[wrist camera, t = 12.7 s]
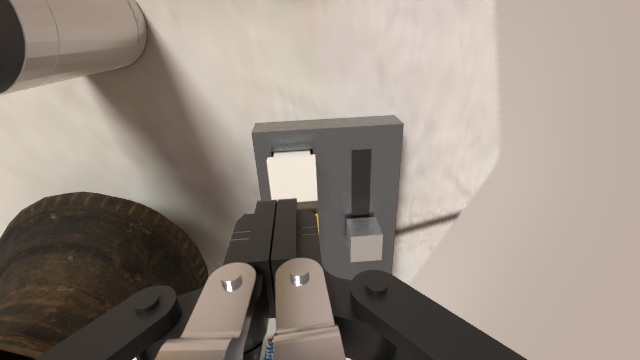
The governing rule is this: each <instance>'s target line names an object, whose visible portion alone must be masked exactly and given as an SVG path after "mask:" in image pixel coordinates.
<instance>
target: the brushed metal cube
mask: <svg viewBox="0 0 640 360" xmlns="http://www.w3.org/2000/svg"><path fill="white" fill-rule="evenodd" d="M346 244H347V248H348V252H349V257H350V261H351V262H361V261H375V260H382V244H383V233H382V231H381V228H380V226H379V224H378V221H377V219H376V217H367V218H353V219H346Z"/></svg>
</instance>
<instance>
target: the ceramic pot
mask: <svg viewBox="0 0 640 360" xmlns="http://www.w3.org/2000/svg"><path fill="white" fill-rule="evenodd" d="M207 280H208V271H207V266H206V264H205V262H204V260H203V258H202V256H201V254H200V252H199V250H198V247H197V246H196V245H195V244H194V242H193V241H192V240H191V239H190V238H189V237H188V236H187V234H186V233H185V232H184V231H183V230H182V229H180V228H179V227H178V226H176V225H175V224H174V223H172V222H171V221H169V220H168V219H167V218H165V217H164V216H163V215H161V214H160V213H159V212H157V211H155V210H153V209H151V208H149V207H147V206H145V205H142V204H139V203H136V202H133V201H130V200H126V199H122V198H117V197H112V196H108V195H103V194H98V193H90V192H76V193H67V194H61V195H55V196H50V197H45V198H43V199H41V200H39V201H37V202H36V203H34V204H32V205H30V206H28V207H27V208H25V209H23V210H22V211H21V212H20V213H19V214H18V215H17V216H16V217H15V218H14V219H13V220H12V221H11V222H10V223H9V225H8V226H7V228H6V230H5V231H4V233H3V234H2V236H1V238H0V360H34V359H36V358H37V357H39V356H40V355H42V354H43V353H45V352H46V351H48V350H50V349H51V348H53V347H54V346H56V345H57V344H59V343H60V342H62V341H63V340H65V339H66V338H68V337H69V336H71V335H72V334H74V333H76V332H77V331H79V330H80V329H82V328H83V327H85V326H86V325H88V324H89V323H91V322H92V321H94V320H95V319H97V318H99V317H100V316H102V315H103V314H105V313H106V312H108V311H109V310H111V309H112V308H114V307H115V306H117V305H118V304H120V303H121V302H123V301H125V300H126V299H128V298H129V297H131V296H132V295H134V294H135V293H137V292H139V291H141V290H143V289H145V288H148V287H152V286H157V285H164V286H169V287H171V288H172V289H173V290H174V291H175V293H176V296H179V295H182V294H185V293H188V292H192V291H195V290H198V289H200V288H202V287H204V286H205V284H206V282H207Z"/></svg>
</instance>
